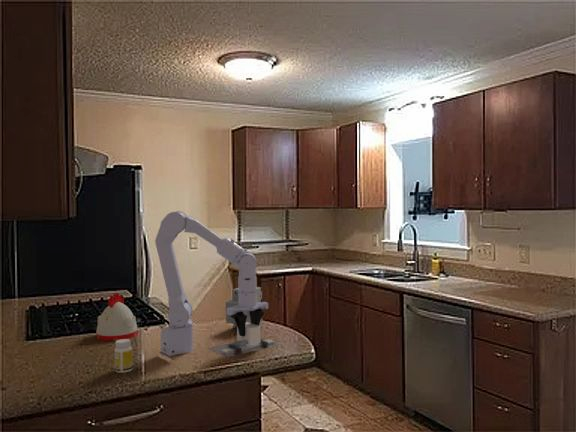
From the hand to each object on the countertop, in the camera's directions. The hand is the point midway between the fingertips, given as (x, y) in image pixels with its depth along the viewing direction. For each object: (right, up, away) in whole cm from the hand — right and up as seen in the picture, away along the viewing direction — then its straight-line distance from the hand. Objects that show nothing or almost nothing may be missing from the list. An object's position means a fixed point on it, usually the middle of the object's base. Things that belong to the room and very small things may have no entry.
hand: (248, 334), depth 164 cm
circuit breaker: (-4, -5, +25) cm, 26 cm away
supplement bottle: (-34, -7, -17) cm, 38 cm away
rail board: (-2, -5, +2) cm, 6 cm away
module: (0, -2, 0) cm, 2 cm away
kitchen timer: (-48, -5, +22) cm, 53 cm away
